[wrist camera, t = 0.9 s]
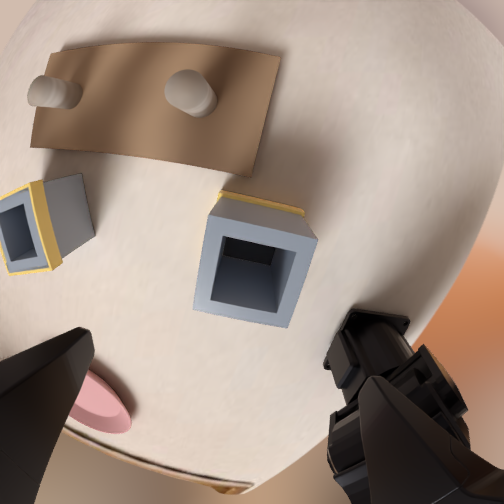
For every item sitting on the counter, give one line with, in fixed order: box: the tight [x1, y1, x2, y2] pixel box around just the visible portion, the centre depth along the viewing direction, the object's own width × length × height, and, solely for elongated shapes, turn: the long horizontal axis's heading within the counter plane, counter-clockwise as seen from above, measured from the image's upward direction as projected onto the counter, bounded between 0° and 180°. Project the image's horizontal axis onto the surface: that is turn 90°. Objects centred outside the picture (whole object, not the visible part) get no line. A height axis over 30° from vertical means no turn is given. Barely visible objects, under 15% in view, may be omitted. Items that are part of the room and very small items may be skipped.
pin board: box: [27, 42, 281, 177], centre depth 12 cm, size 18×8×5 cm, turn 77°
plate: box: [69, 369, 131, 434], centre depth 25 cm, size 14×14×2 cm
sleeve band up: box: [0, 173, 95, 276], centre depth 15 cm, size 5×5×6 cm
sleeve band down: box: [193, 190, 318, 328], centre depth 16 cm, size 5×5×6 cm
